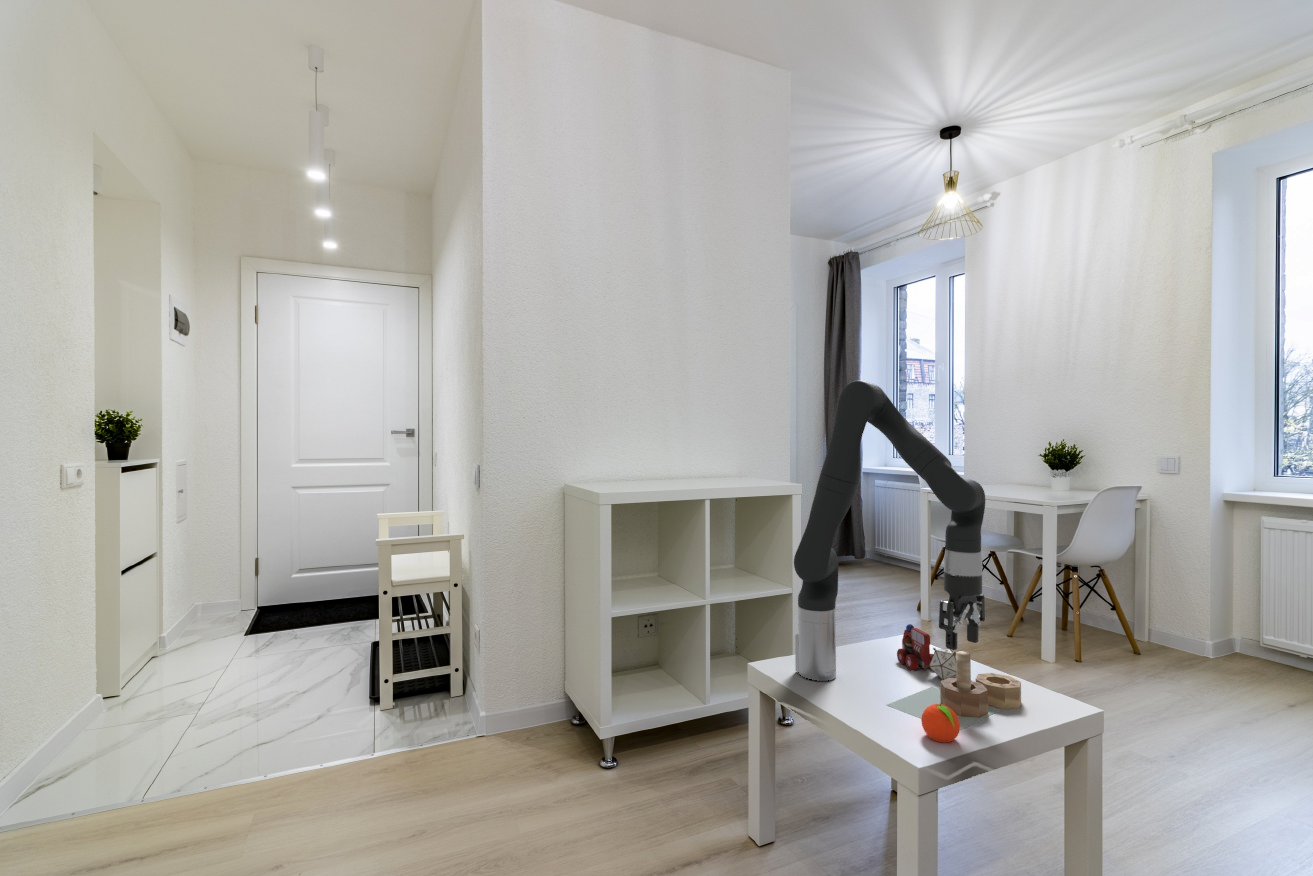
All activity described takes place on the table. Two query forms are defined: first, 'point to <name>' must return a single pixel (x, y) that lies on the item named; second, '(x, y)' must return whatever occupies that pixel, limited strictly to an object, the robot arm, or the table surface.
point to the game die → (944, 663)
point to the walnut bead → (964, 698)
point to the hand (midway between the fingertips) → (962, 645)
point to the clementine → (940, 723)
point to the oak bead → (1001, 690)
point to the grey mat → (931, 696)
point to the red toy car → (915, 649)
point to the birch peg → (963, 670)
